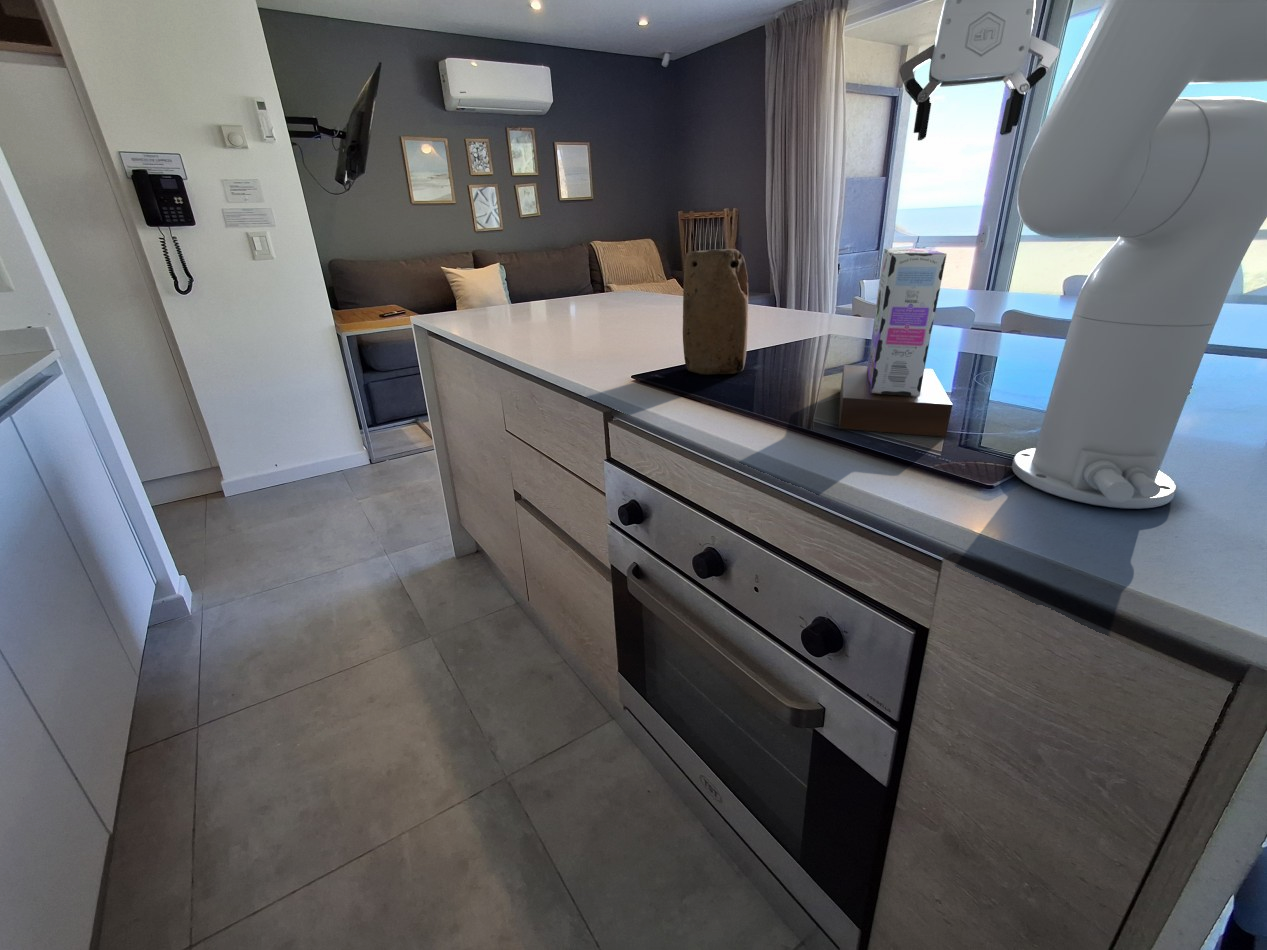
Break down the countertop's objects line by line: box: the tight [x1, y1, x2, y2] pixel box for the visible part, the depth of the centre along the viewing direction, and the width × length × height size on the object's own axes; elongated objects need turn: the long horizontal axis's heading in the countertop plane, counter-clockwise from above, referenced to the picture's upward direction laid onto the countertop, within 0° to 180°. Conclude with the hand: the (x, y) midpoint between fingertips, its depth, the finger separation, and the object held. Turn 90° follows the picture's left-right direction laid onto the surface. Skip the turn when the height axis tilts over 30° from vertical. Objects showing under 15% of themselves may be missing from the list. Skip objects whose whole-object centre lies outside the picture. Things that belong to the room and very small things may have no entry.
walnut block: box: [838, 364, 953, 438], centre depth 76 cm, size 18×12×4 cm, turn 161°
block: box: [682, 248, 749, 376], centre depth 96 cm, size 11×8×20 cm
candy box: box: [867, 247, 947, 397], centre depth 72 cm, size 14×6×16 cm, turn 161°
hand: (962, 136), depth 73 cm, fingers open, 9 cm apart
